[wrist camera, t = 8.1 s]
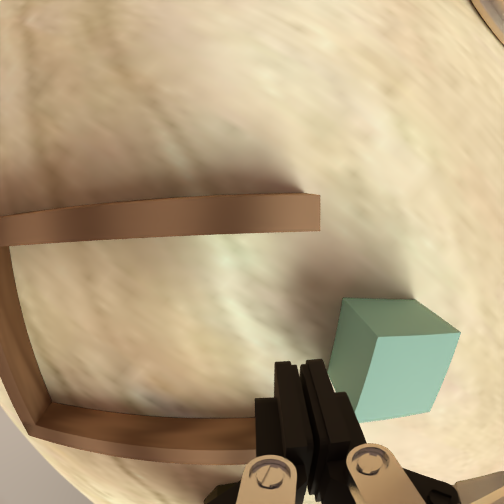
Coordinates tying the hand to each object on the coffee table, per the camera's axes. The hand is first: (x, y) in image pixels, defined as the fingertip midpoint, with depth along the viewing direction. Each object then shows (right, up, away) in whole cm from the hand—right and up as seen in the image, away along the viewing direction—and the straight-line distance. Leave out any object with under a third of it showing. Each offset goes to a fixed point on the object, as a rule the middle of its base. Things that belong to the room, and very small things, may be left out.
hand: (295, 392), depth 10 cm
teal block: (+6, 0, +7) cm, 9 cm away
